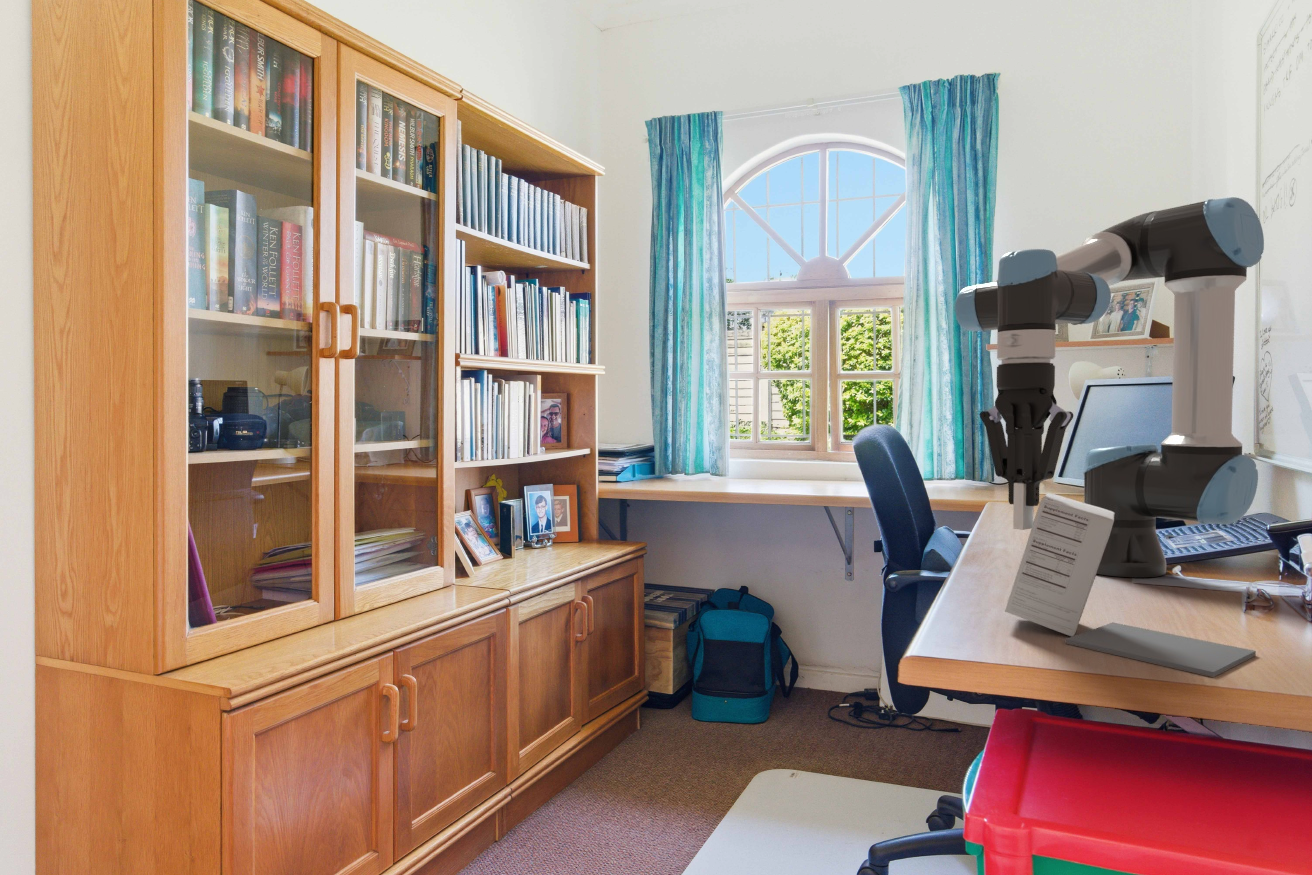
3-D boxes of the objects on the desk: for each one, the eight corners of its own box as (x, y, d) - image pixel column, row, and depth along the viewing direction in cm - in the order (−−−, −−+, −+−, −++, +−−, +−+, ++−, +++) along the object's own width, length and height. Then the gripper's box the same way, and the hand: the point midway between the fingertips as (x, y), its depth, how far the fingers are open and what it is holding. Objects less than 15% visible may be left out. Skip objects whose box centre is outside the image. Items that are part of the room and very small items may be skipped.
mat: (1112, 626, 116) (1112, 622, 116) (1255, 655, 103) (1255, 650, 103) (1065, 643, 109) (1065, 638, 109) (1213, 677, 95) (1213, 671, 95)
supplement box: (1074, 638, 111) (1115, 520, 108) (1002, 612, 115) (1040, 497, 112) (1078, 621, 119) (1116, 511, 116) (1011, 597, 123) (1046, 490, 120)
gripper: (968, 363, 121) (967, 525, 122) (1056, 359, 110) (1054, 536, 111) (998, 364, 125) (996, 520, 126) (1085, 360, 114) (1082, 531, 116)
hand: (1023, 528), depth 119 cm, fingers closed
